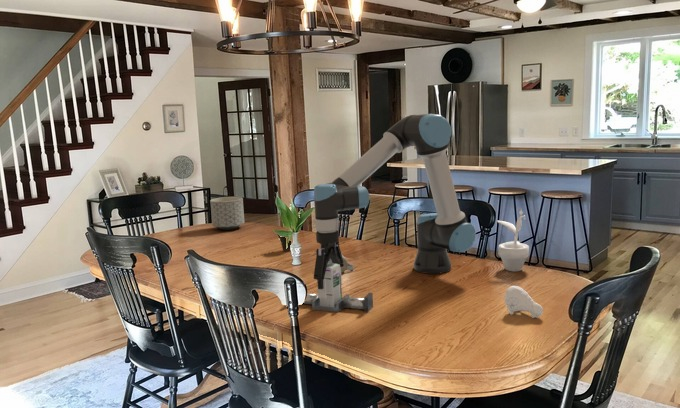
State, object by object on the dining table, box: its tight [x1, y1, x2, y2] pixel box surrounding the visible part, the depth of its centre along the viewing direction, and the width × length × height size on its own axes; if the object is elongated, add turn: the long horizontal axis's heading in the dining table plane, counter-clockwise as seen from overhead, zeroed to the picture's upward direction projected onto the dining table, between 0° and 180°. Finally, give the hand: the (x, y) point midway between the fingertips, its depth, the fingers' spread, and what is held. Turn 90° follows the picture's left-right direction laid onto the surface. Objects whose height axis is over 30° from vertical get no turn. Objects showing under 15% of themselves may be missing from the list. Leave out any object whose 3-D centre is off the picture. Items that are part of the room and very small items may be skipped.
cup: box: [277, 234, 291, 253], centre depth 262 cm, size 9×9×10 cm
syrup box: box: [320, 263, 343, 307], centre depth 183 cm, size 6×6×14 cm
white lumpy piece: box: [503, 285, 544, 319], centre depth 167 cm, size 6×8×12 cm
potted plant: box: [496, 208, 530, 273], centre depth 213 cm, size 13×12×25 cm
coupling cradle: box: [303, 292, 374, 313], centre depth 183 cm, size 29×10×5 cm, turn 68°
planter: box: [209, 196, 246, 231], centre depth 322 cm, size 19×19×18 cm
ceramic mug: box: [328, 254, 355, 274], centre depth 224 cm, size 11×8×8 cm
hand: (330, 291), depth 183 cm, fingers open, 13 cm apart
